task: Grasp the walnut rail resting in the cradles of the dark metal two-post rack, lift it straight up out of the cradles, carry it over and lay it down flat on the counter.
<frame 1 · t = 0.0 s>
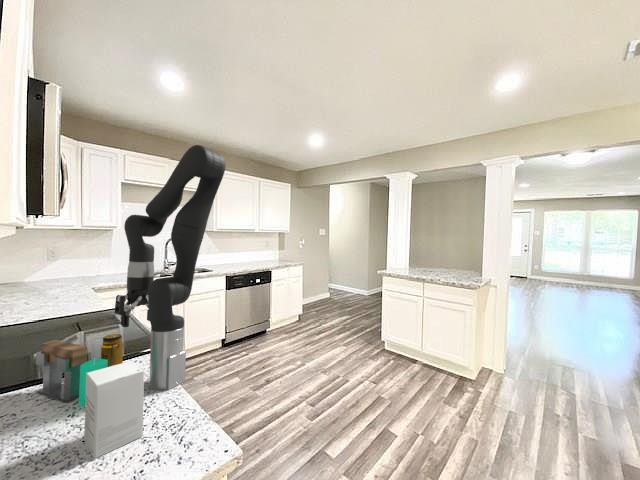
hand: (138, 323, 93), 17 cm above the worktop, tool pointing down, fingers open, 8 cm apart
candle: (92, 401, 77), on the worktop
supplement box: (113, 439, 62), on the worktop
rail: (63, 360, 81), point 9 cm above the worktop, touching rack
condiment: (114, 370, 96), on the worktop
rack: (62, 393, 80), on the worktop
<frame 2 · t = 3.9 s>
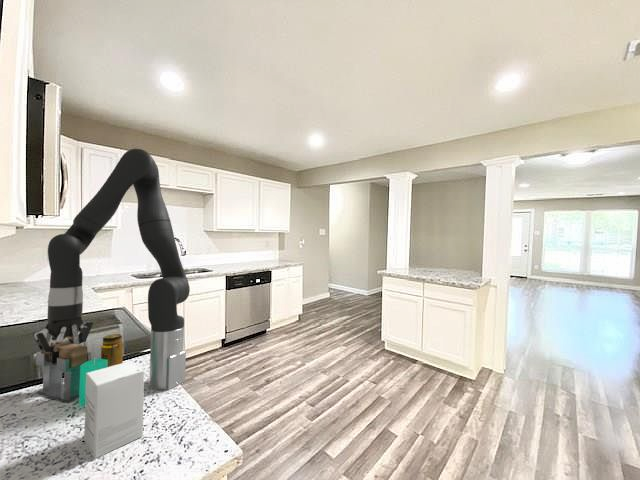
hand: (63, 361, 81), 9 cm above the worktop, tool pointing down, fingers closed on rail, 3 cm apart
rail: (63, 360, 81), point 10 cm above the worktop, touching gripper, rack
everything else where it was.
when the fingers open (2 cm above the worktop, at t = 10.7 s): rail drops 1 cm, on the worktop.
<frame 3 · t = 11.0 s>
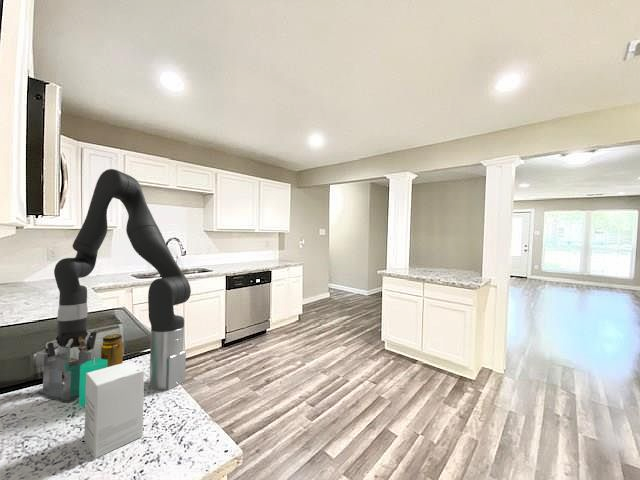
hand: (71, 367, 93), 2 cm above the worktop, tool pointing down, fingers open, 5 cm apart
rail: (69, 374, 93), on the worktop
everything else where it was.
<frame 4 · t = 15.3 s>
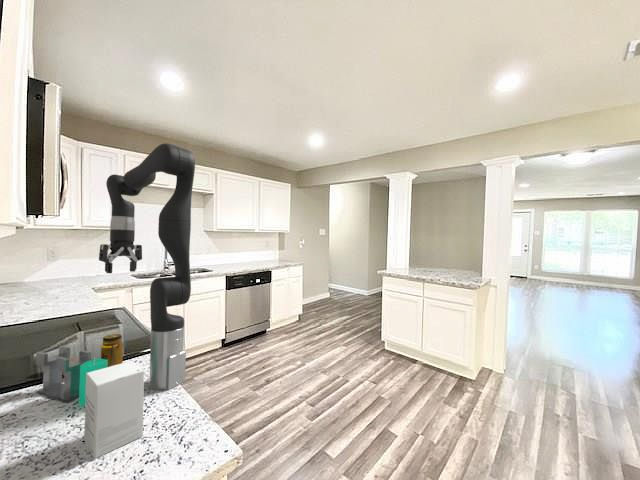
hand: (121, 272, 104), 33 cm above the worktop, tool pointing down, fingers open, 8 cm apart
at the end: rail inside the target area (0.7 cm from its centre), on the worktop; rail touching worktop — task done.
